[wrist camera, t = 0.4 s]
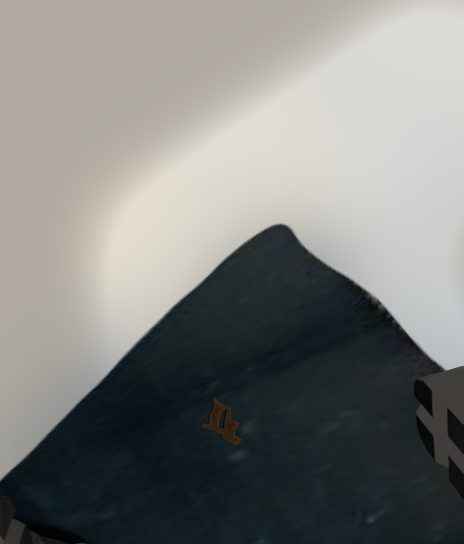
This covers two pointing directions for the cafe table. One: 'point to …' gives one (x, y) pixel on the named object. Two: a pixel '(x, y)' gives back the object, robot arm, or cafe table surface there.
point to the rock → (45, 540)
